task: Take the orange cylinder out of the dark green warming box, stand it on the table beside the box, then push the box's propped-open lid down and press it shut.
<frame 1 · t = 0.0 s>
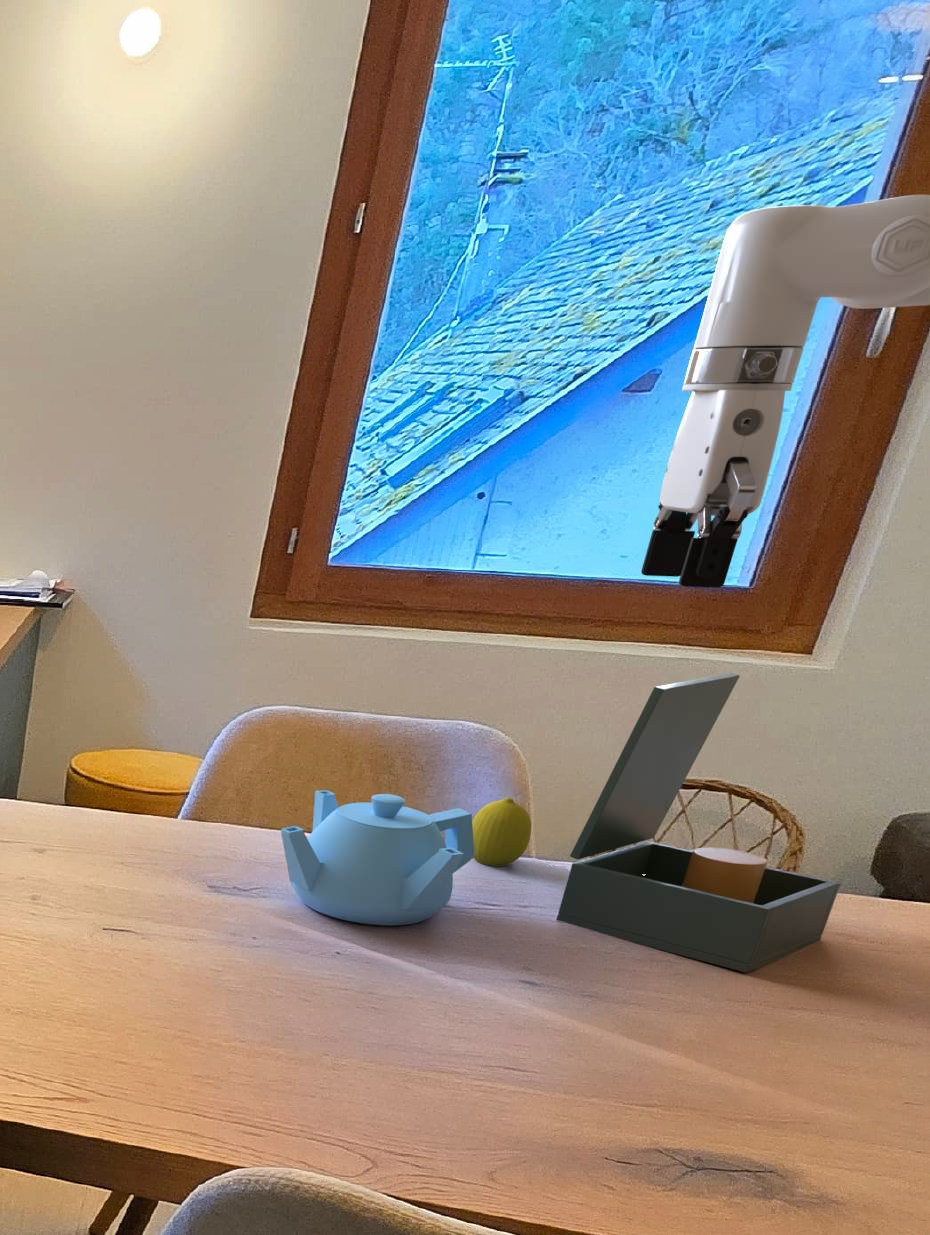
hand: (679, 581, 127), 31 cm above the table, tool pointing down, fingers open, 9 cm apart
teapot: (361, 905, 138), on the table
orange cylinder: (705, 928, 130), point 1 cm above the table, touching warmer
warmer: (684, 932, 131), on the table
warmer lid: (654, 766, 131), point 14 cm above the table, hinge at 80.0°
lemon: (488, 872, 149), on the table
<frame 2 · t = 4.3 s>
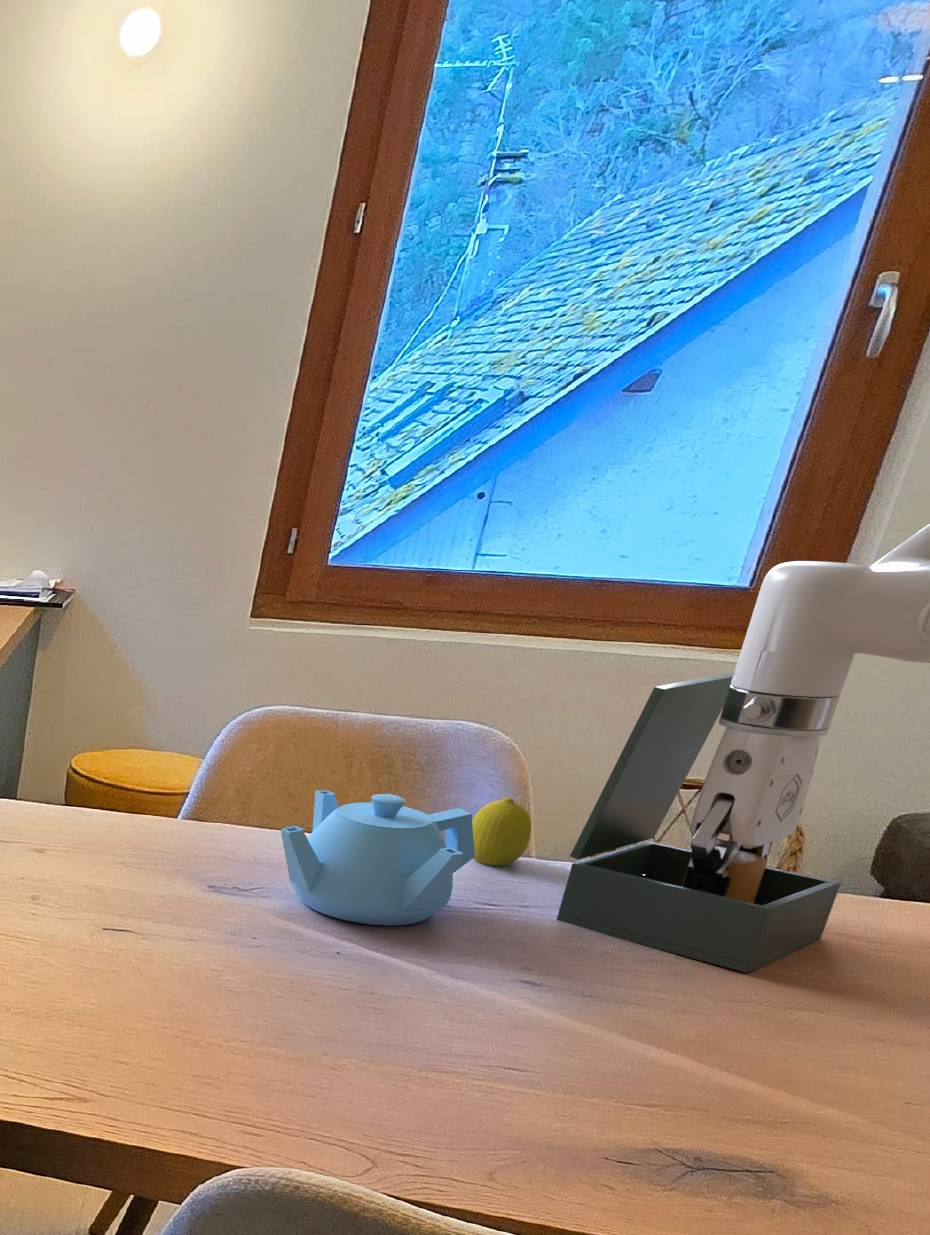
hand: (712, 908, 129), 3 cm above the table, tool pointing down, fingers closed on orange cylinder, 5 cm apart
orange cylinder: (705, 928, 130), point 1 cm above the table, touching gripper, warmer
everything else where it was.
when the fingers open (2 cm above the table, at t = 11.5 s): orange cylinder stays where it is, on the table.
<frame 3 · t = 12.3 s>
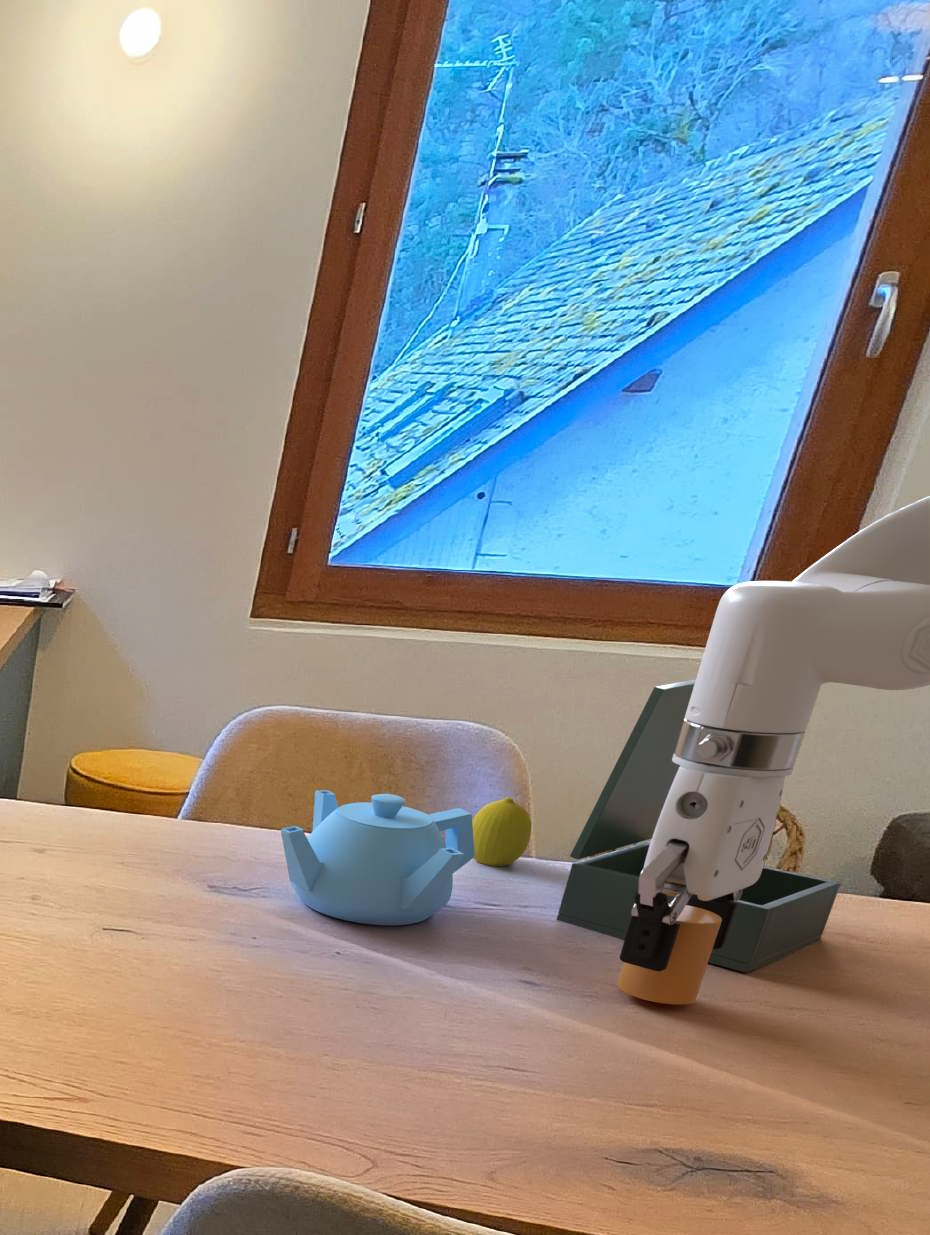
hand: (671, 954, 116), 3 cm above the table, tool pointing down, fingers open, 9 cm apart
orange cylinder: (655, 992, 117), on the table
everything else where it was.
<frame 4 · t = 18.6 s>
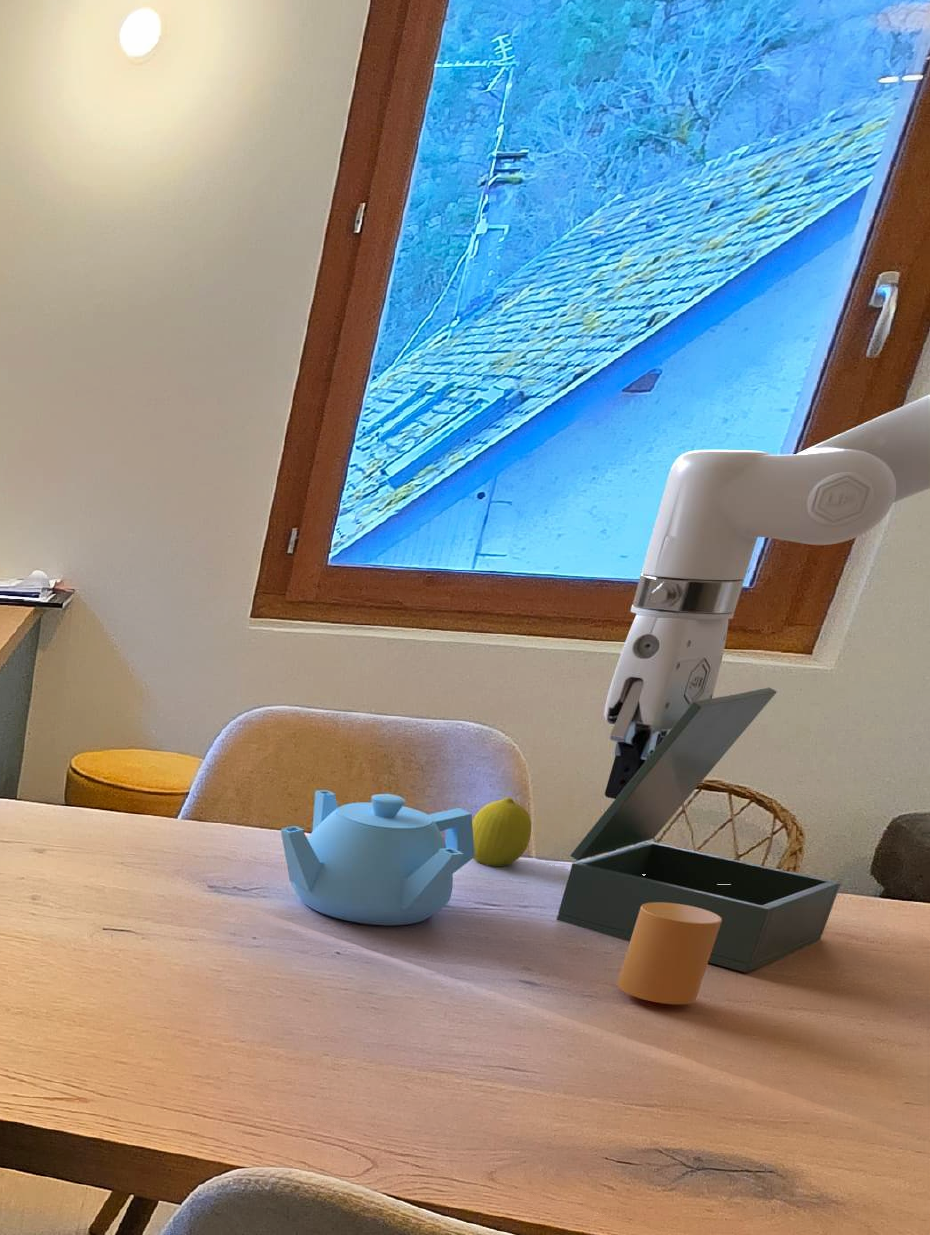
hand: (626, 798, 133), 11 cm above the table, tool pointing down, fingers closed
warmer lid: (671, 774, 130), point 14 cm above the table, hinge at 68.3°, touching gripper
everything else where it was.
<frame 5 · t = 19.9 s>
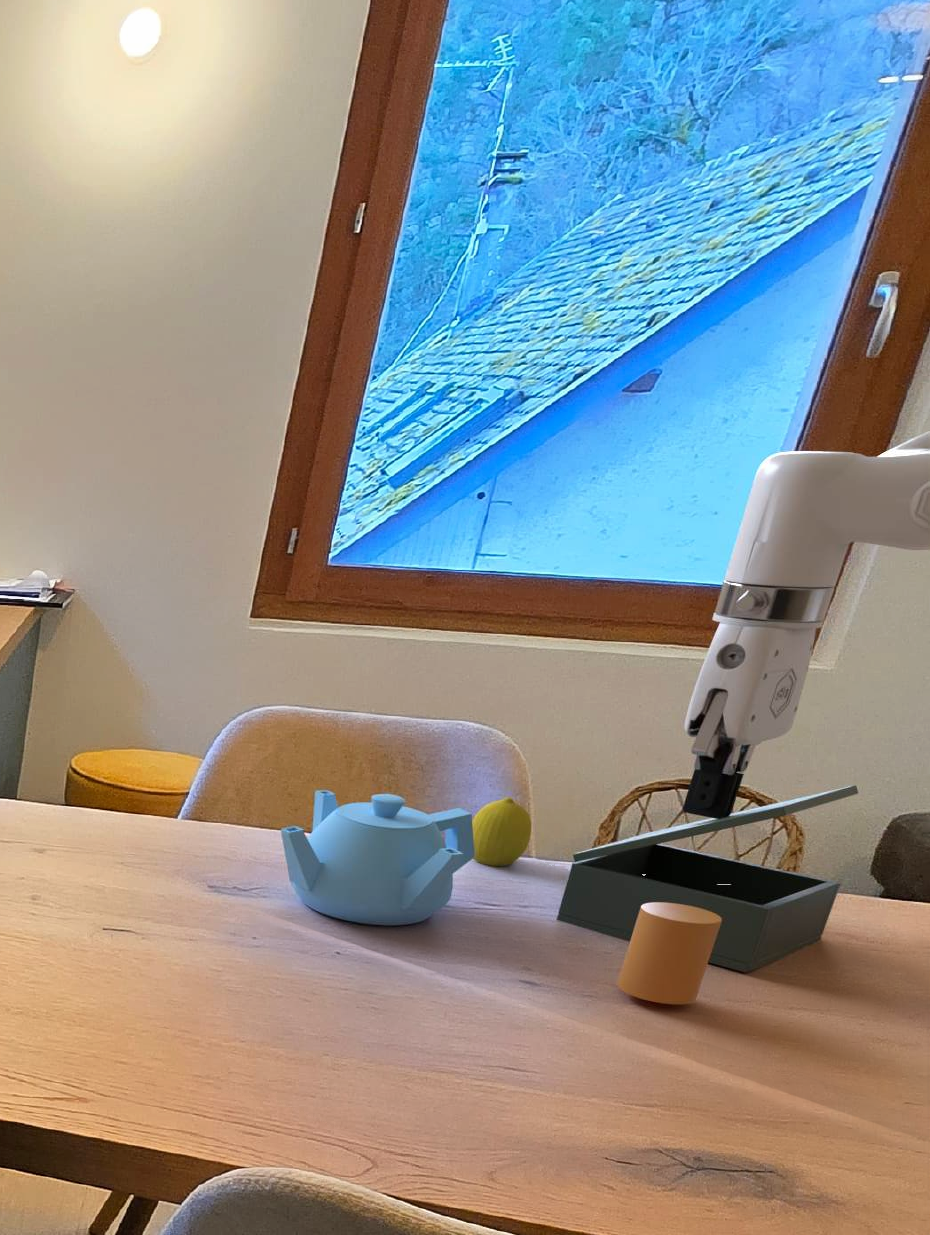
hand: (705, 814, 128), 11 cm above the table, tool pointing down, fingers closed
warmer lid: (711, 824, 128), point 10 cm above the table, hinge at 28.4°, touching gripper
everything else where it was.
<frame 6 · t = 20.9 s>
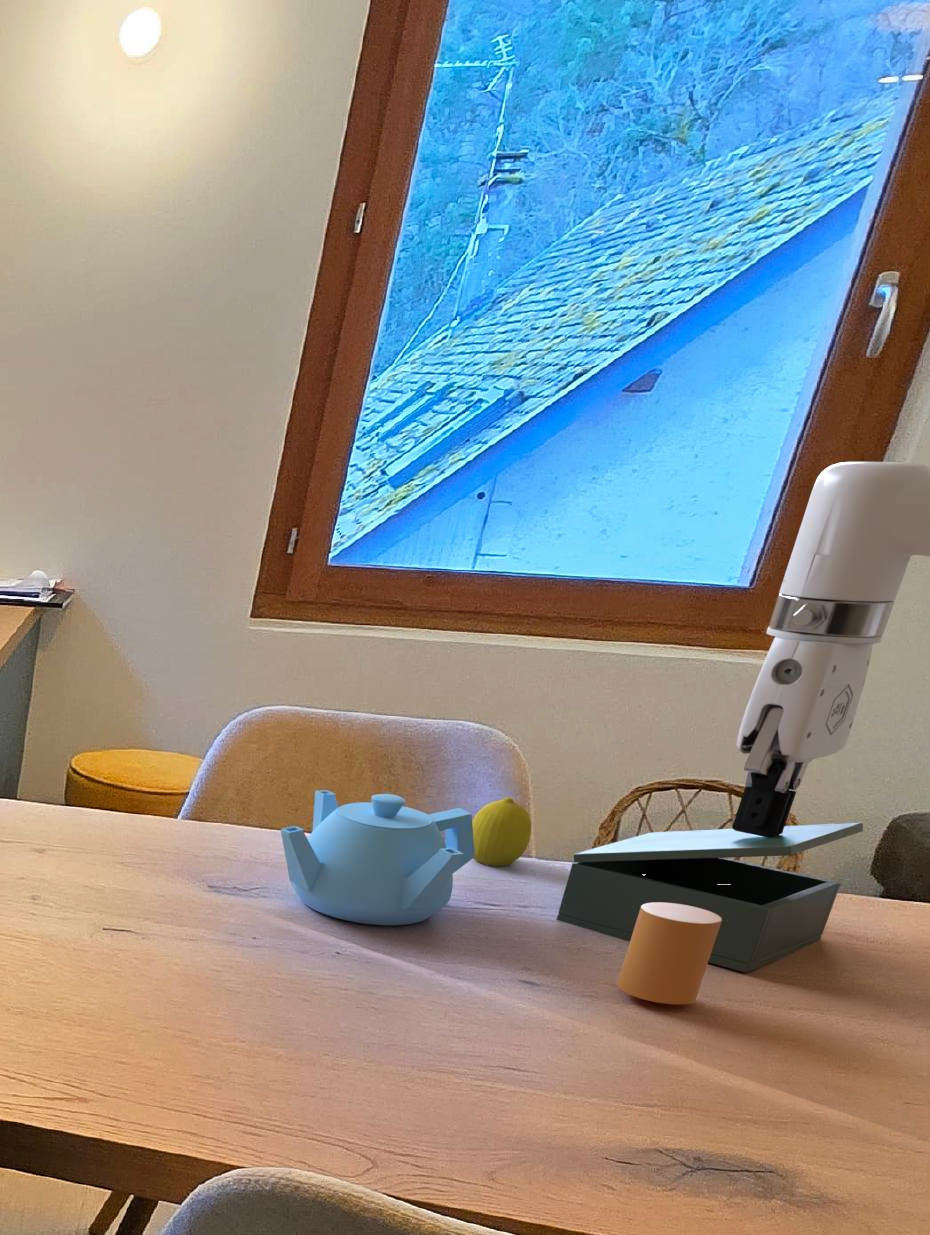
hand: (756, 832, 125), 10 cm above the table, tool pointing down, fingers closed
warmer lid: (714, 843, 128), point 9 cm above the table, hinge at 16.7°, touching gripper
everything else where it was.
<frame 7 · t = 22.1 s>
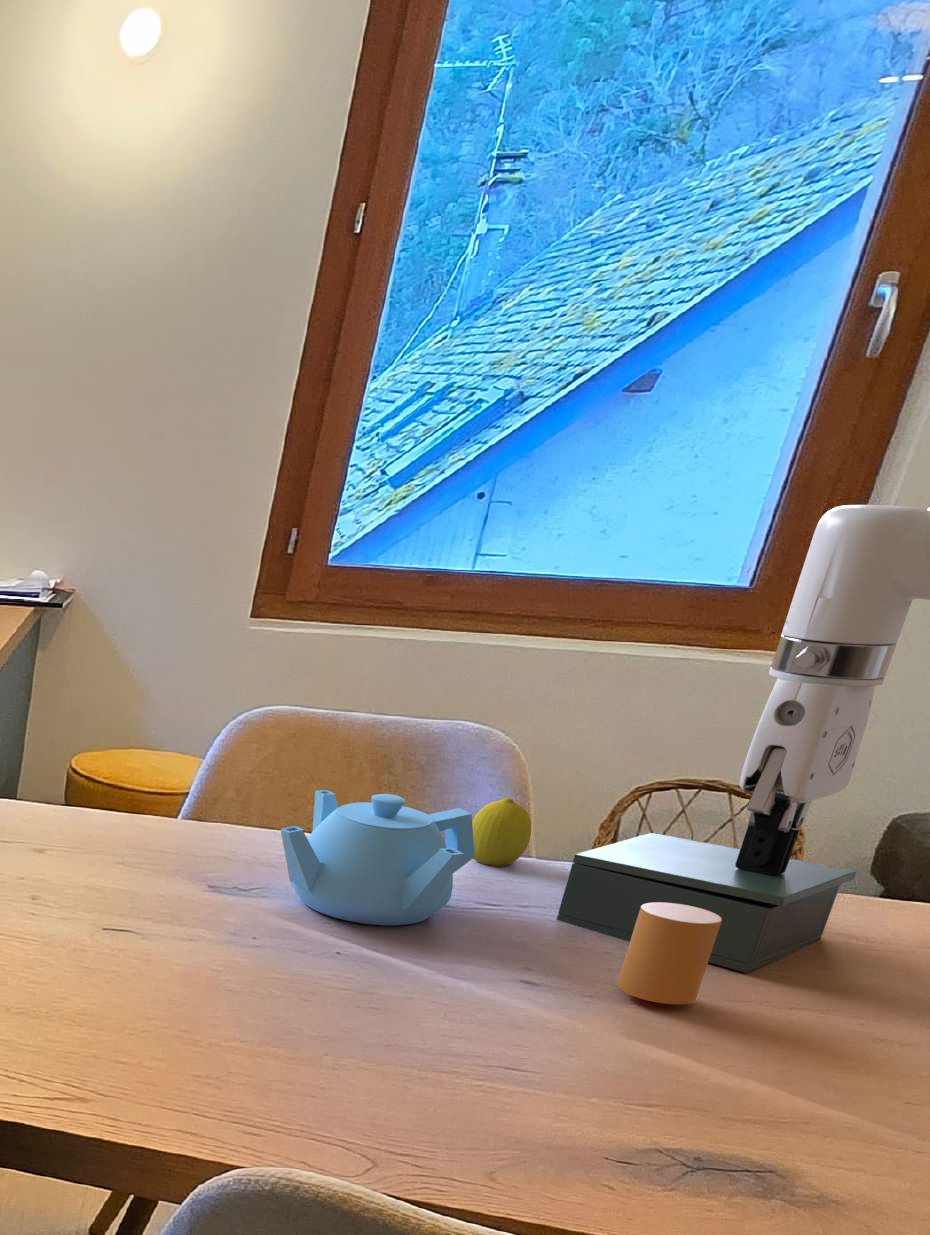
hand: (759, 870, 125), 7 cm above the table, tool pointing down, fingers closed
warmer lid: (711, 866, 128), point 6 cm above the table, hinge at 1.6°, touching gripper
everything else where it was.
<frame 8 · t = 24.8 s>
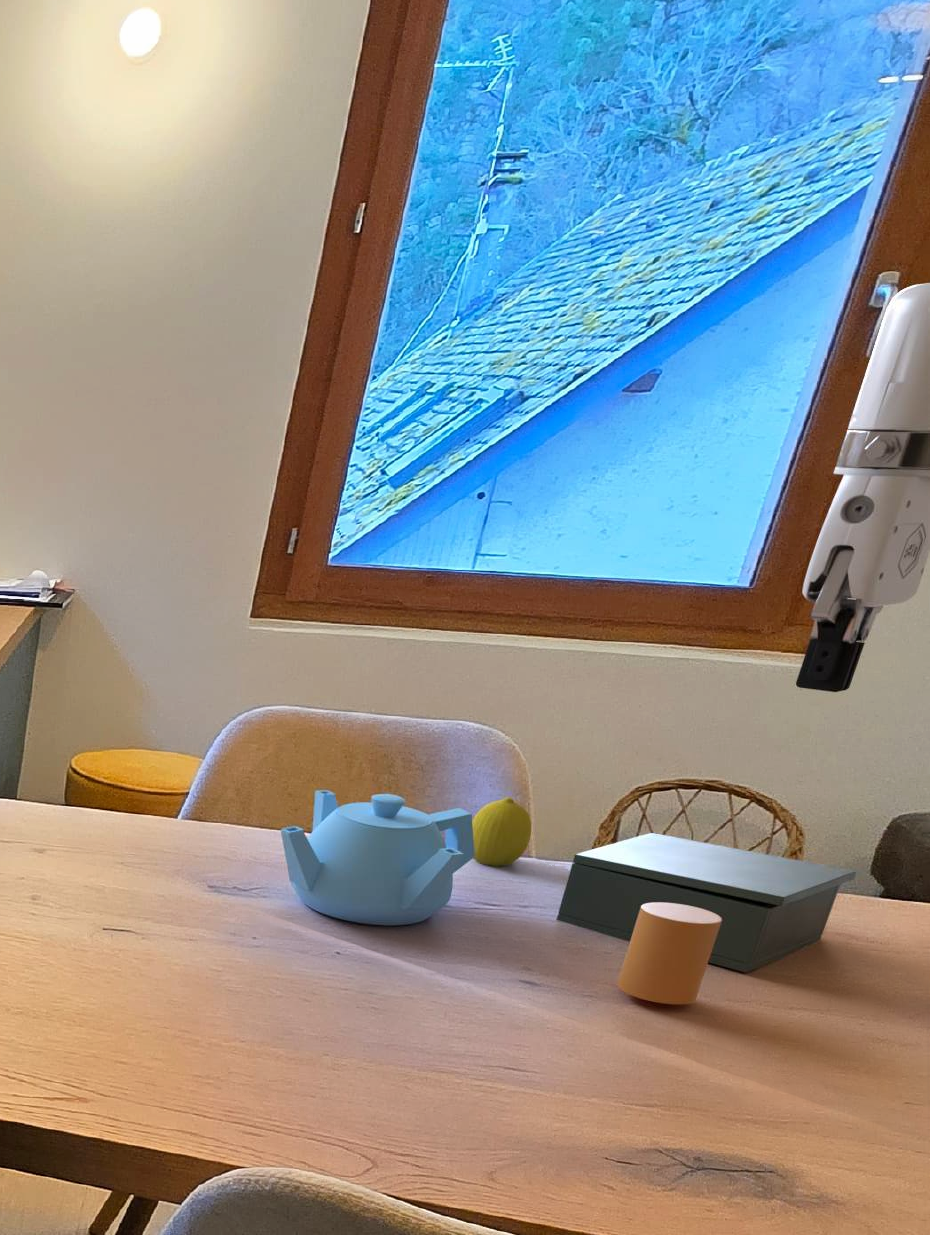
hand: (821, 688, 119), 23 cm above the table, tool pointing down, fingers closed
warmer lid: (711, 866, 128), point 6 cm above the table, hinge at 1.6°
everything else where it was.
at the end: orange cylinder inside the target area (0.1 cm from its centre), on the table; orange cylinder tilted 0°; warmer lid at +2° (first picture: +80°) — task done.
